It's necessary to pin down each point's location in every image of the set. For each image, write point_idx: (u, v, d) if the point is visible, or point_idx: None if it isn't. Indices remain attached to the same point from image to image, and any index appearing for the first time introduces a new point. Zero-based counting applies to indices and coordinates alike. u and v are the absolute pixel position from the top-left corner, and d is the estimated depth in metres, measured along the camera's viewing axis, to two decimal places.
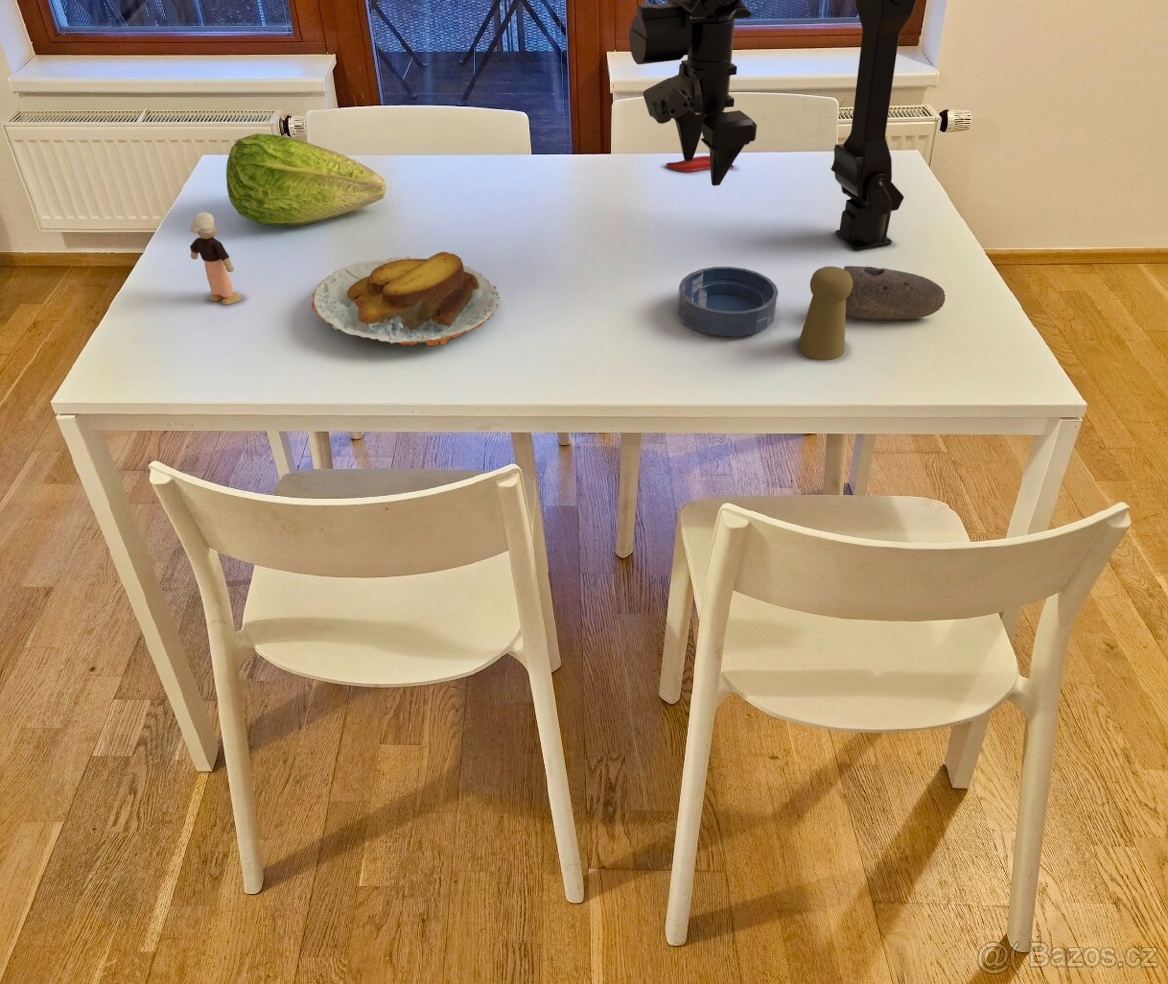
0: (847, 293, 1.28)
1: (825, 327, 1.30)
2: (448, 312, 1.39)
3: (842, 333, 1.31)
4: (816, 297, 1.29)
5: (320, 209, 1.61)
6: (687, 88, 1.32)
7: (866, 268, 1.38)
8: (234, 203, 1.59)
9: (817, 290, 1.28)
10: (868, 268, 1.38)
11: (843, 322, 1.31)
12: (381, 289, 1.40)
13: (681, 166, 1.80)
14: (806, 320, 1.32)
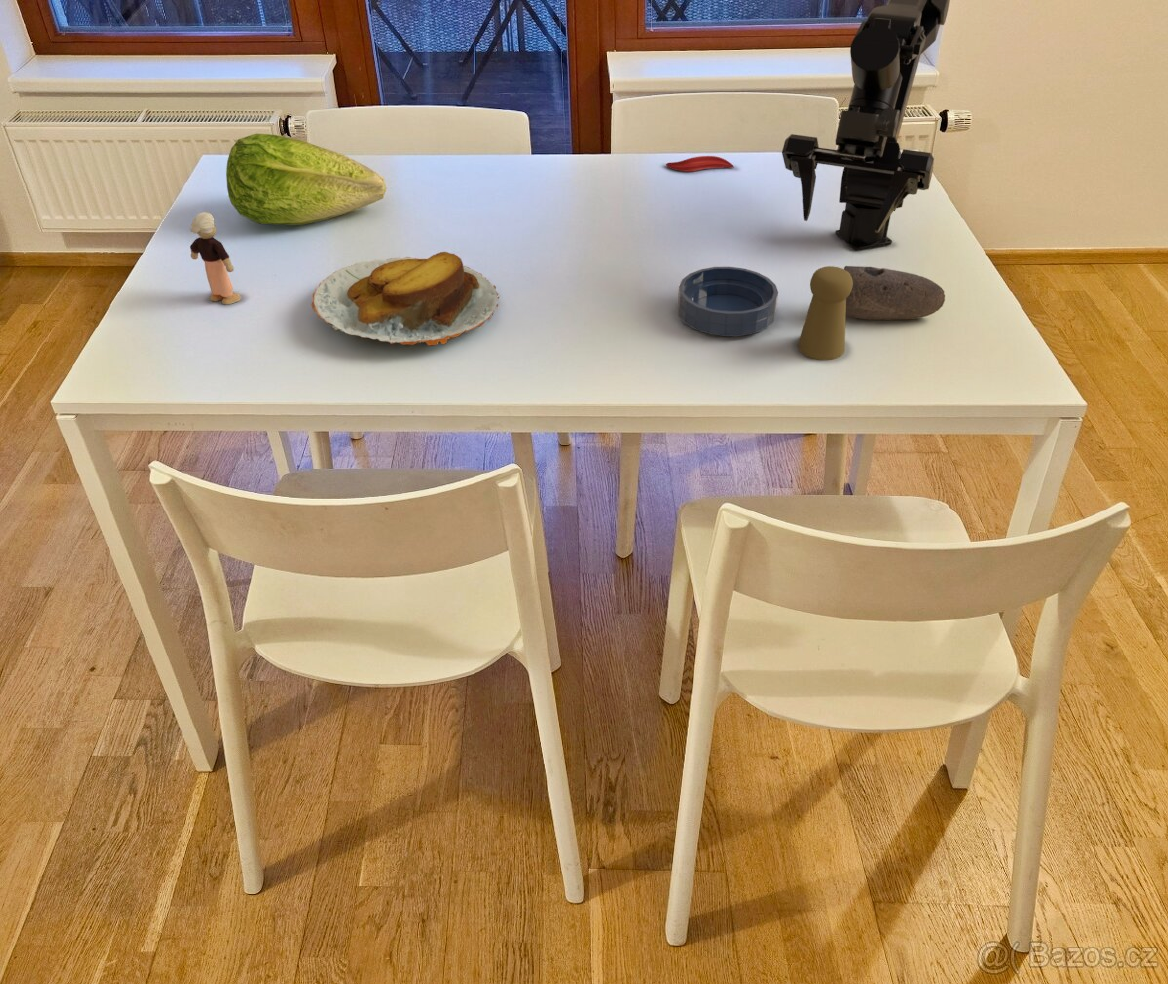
0: (847, 293, 1.28)
1: (825, 327, 1.30)
2: (448, 312, 1.39)
3: (842, 333, 1.31)
4: (816, 297, 1.29)
5: (320, 209, 1.61)
6: None
7: (866, 268, 1.38)
8: (234, 203, 1.59)
9: (817, 290, 1.28)
10: (868, 268, 1.38)
11: (843, 322, 1.31)
12: (381, 289, 1.40)
13: (681, 166, 1.80)
14: (806, 320, 1.32)
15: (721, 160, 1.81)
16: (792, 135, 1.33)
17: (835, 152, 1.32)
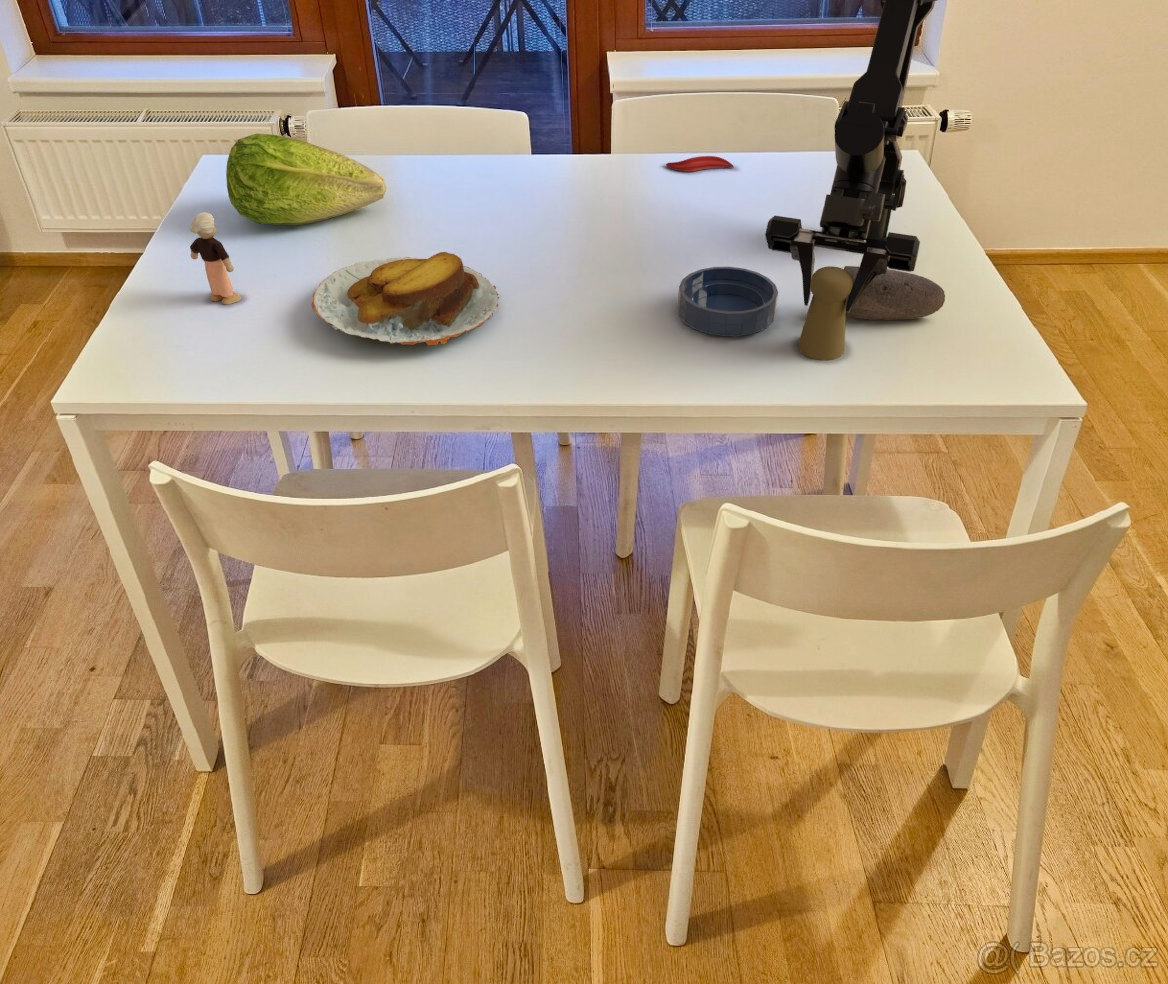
0: (847, 293, 1.28)
1: (825, 327, 1.30)
2: (448, 312, 1.39)
3: (842, 333, 1.31)
4: (816, 297, 1.29)
5: (320, 209, 1.61)
6: None
7: None
8: (234, 203, 1.59)
9: (817, 290, 1.28)
10: None
11: (843, 322, 1.31)
12: (381, 289, 1.40)
13: (681, 166, 1.80)
14: (806, 320, 1.32)
15: (721, 160, 1.81)
16: (775, 216, 1.30)
17: (835, 236, 1.29)
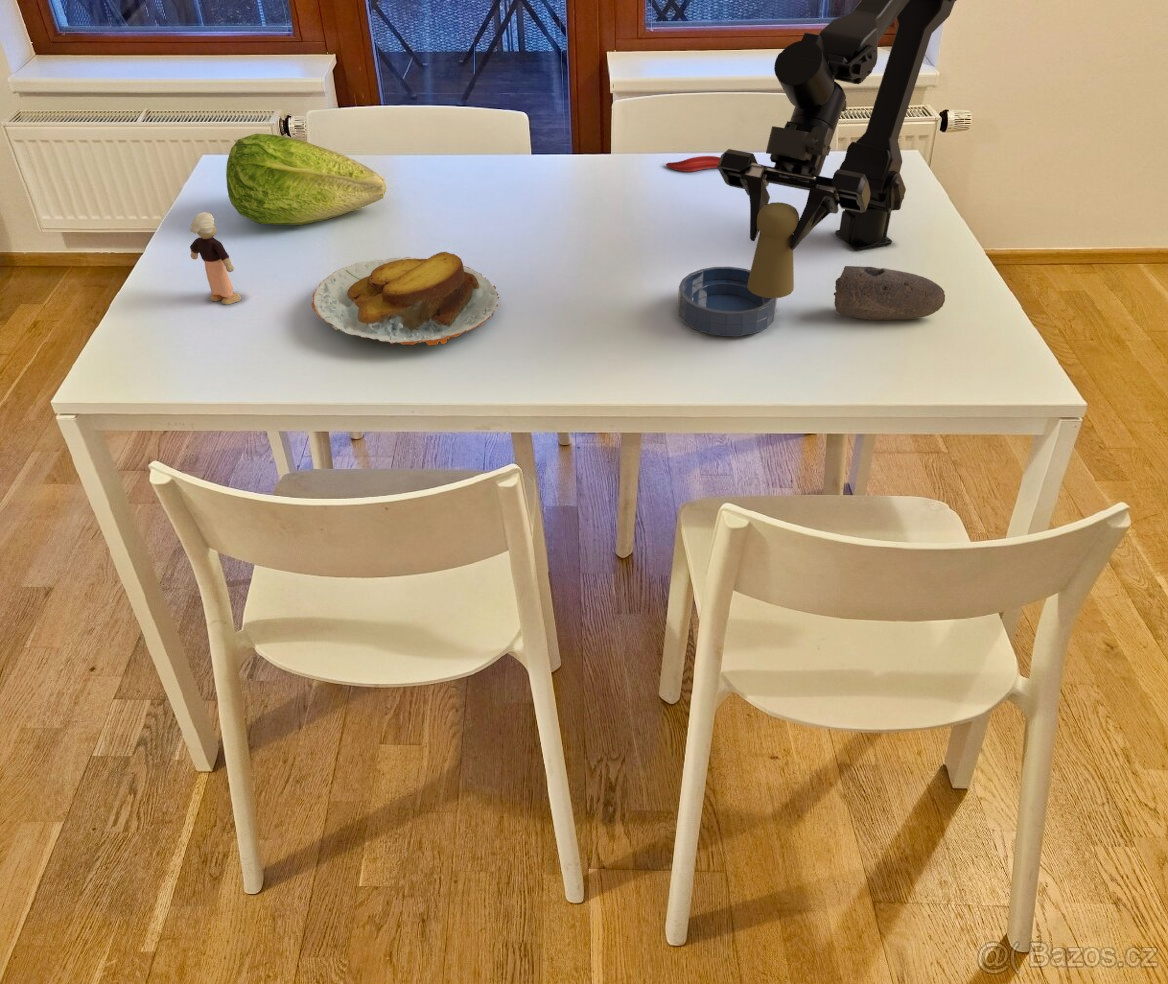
0: (791, 229, 1.27)
1: (770, 263, 1.29)
2: (448, 312, 1.39)
3: (788, 271, 1.30)
4: (761, 232, 1.28)
5: (320, 209, 1.61)
6: None
7: (866, 268, 1.38)
8: (234, 203, 1.59)
9: (761, 225, 1.27)
10: (868, 268, 1.38)
11: (789, 260, 1.30)
12: (381, 289, 1.40)
13: (681, 166, 1.80)
14: (754, 256, 1.31)
15: None
16: (729, 150, 1.30)
17: (786, 172, 1.28)
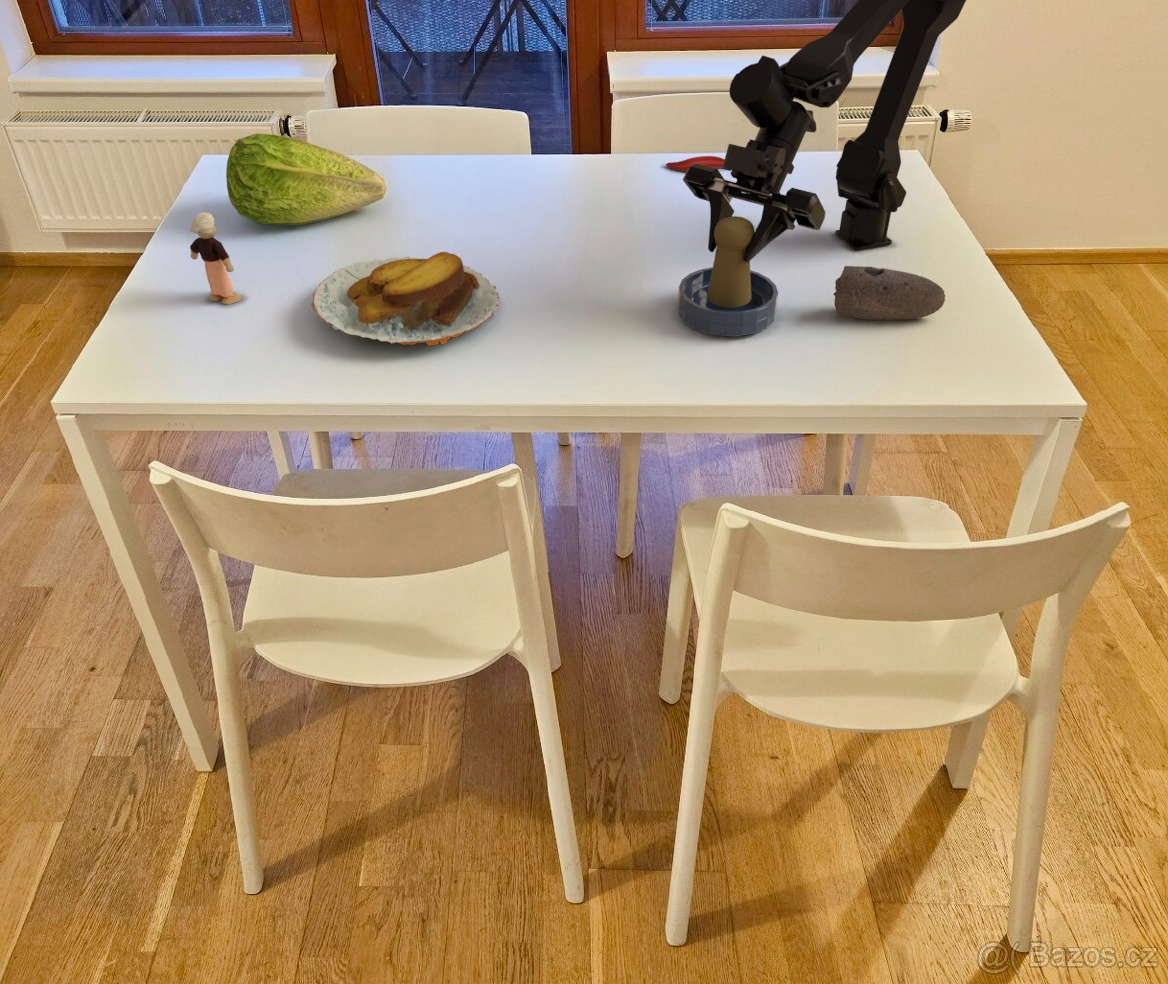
0: (745, 243, 1.32)
1: (725, 274, 1.35)
2: (448, 312, 1.39)
3: (744, 283, 1.36)
4: None
5: (320, 209, 1.61)
6: None
7: (866, 268, 1.38)
8: (234, 203, 1.59)
9: (716, 237, 1.33)
10: (868, 268, 1.38)
11: (744, 272, 1.35)
12: (381, 289, 1.40)
13: (681, 166, 1.80)
14: (713, 267, 1.38)
15: (721, 160, 1.81)
16: (695, 164, 1.36)
17: (745, 188, 1.33)
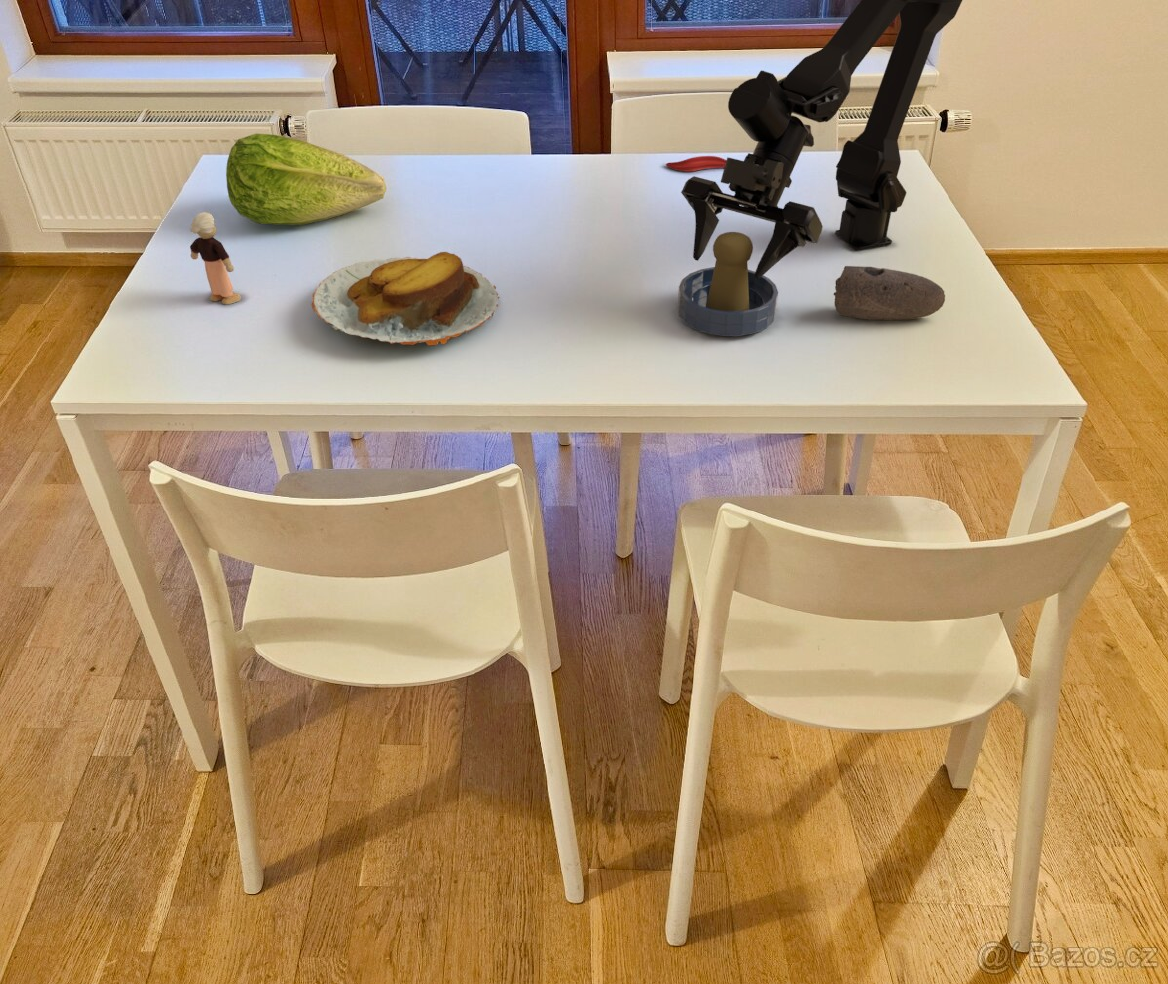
0: (743, 258, 1.34)
1: (723, 289, 1.37)
2: (448, 312, 1.39)
3: (742, 298, 1.38)
4: (716, 259, 1.36)
5: (320, 209, 1.61)
6: None
7: (866, 268, 1.38)
8: (234, 203, 1.59)
9: (715, 252, 1.35)
10: (868, 268, 1.38)
11: (743, 287, 1.37)
12: (381, 289, 1.40)
13: (681, 166, 1.80)
14: (711, 281, 1.39)
15: (721, 160, 1.81)
16: (693, 177, 1.37)
17: (729, 197, 1.35)
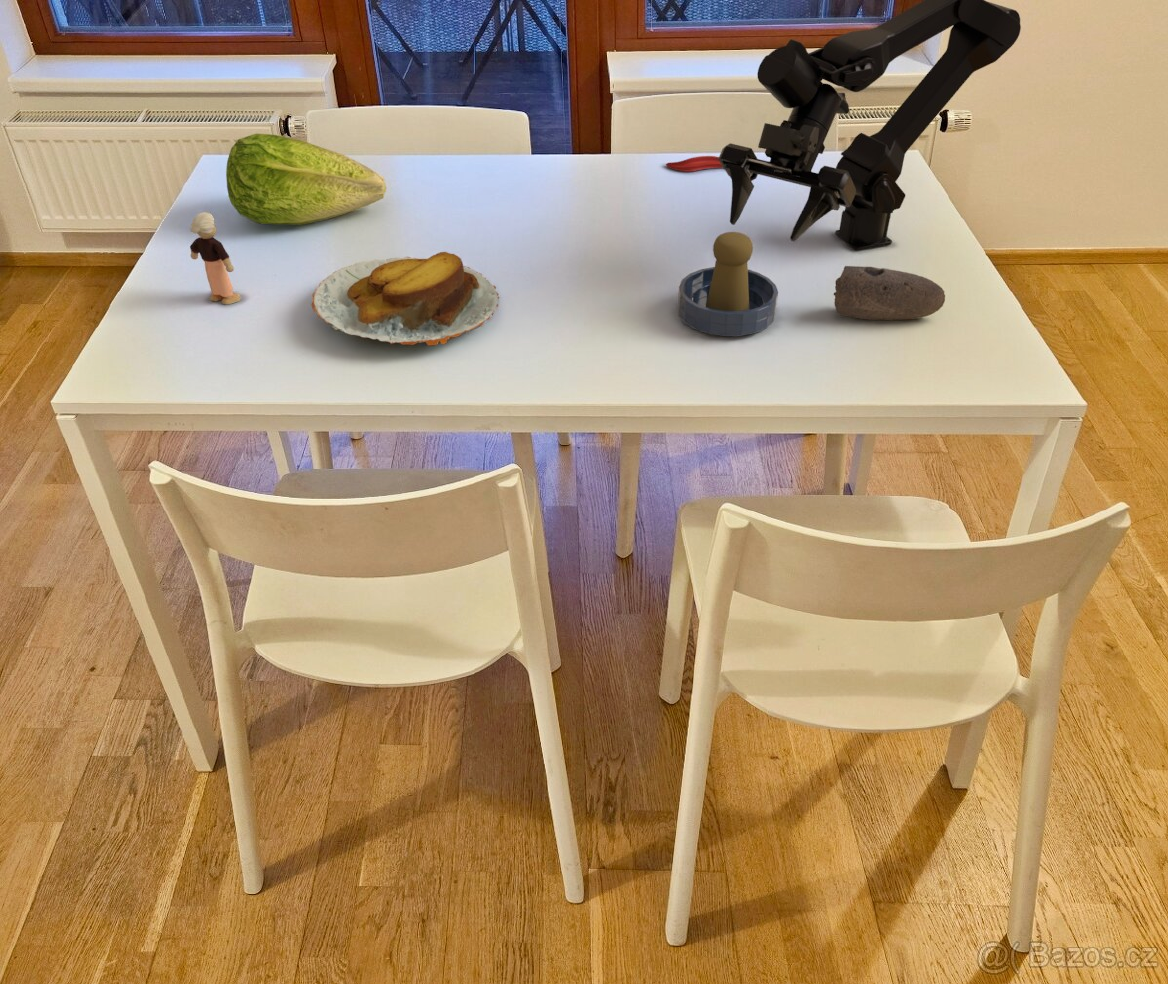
0: (743, 258, 1.34)
1: (723, 289, 1.37)
2: (448, 312, 1.39)
3: (742, 298, 1.38)
4: (716, 259, 1.36)
5: (320, 209, 1.61)
6: None
7: (866, 268, 1.38)
8: (234, 203, 1.59)
9: (715, 252, 1.35)
10: (868, 268, 1.38)
11: (743, 287, 1.37)
12: (381, 289, 1.40)
13: (681, 166, 1.80)
14: (711, 281, 1.39)
15: None
16: (730, 144, 1.42)
17: (765, 163, 1.40)
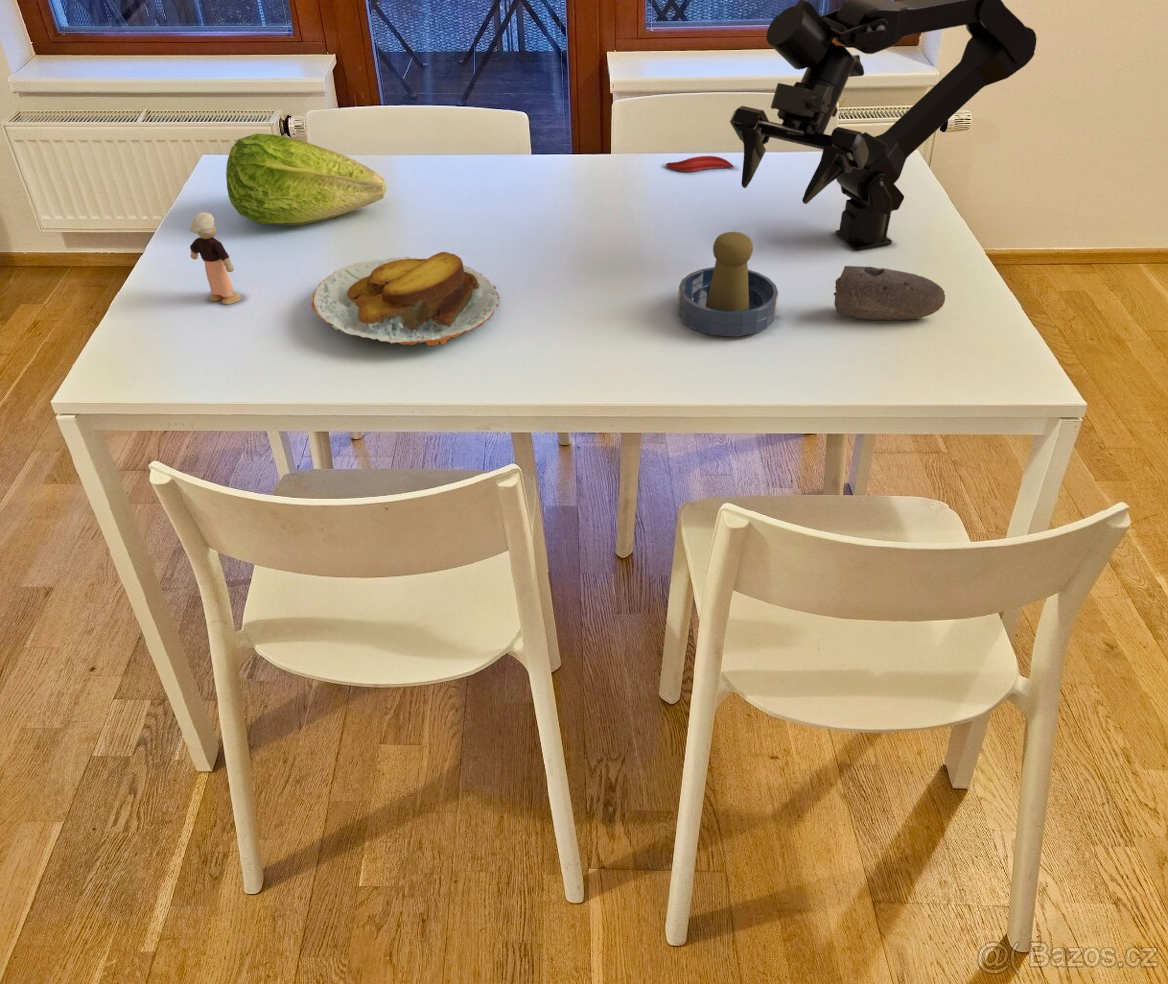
0: (743, 258, 1.34)
1: (723, 289, 1.37)
2: (448, 312, 1.39)
3: (742, 298, 1.38)
4: (716, 259, 1.36)
5: (320, 209, 1.61)
6: None
7: (866, 268, 1.38)
8: (234, 203, 1.59)
9: (715, 252, 1.35)
10: (868, 268, 1.38)
11: (743, 287, 1.37)
12: (381, 289, 1.40)
13: (681, 166, 1.80)
14: (711, 281, 1.39)
15: (721, 160, 1.81)
16: (742, 106, 1.41)
17: (778, 125, 1.39)
